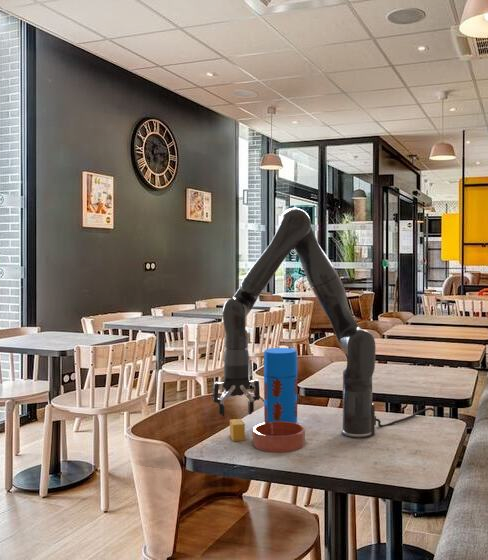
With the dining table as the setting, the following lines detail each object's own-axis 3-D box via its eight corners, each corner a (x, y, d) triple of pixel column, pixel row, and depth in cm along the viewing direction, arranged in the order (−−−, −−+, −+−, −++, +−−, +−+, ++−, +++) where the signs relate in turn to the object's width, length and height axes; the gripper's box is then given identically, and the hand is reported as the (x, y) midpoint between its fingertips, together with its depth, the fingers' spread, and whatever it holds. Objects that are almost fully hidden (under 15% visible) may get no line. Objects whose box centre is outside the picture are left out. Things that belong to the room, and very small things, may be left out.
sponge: (241, 434, 189) (240, 418, 189) (244, 440, 183) (244, 424, 183) (229, 435, 188) (229, 419, 188) (233, 441, 182) (233, 425, 182)
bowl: (296, 433, 190) (296, 419, 190) (311, 449, 175) (311, 433, 175) (248, 438, 186) (248, 423, 185) (259, 454, 171) (259, 438, 171)
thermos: (293, 431, 192) (292, 353, 190) (260, 429, 194) (260, 352, 192) (300, 422, 202) (299, 348, 201) (269, 420, 204) (268, 347, 203)
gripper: (215, 365, 179) (215, 419, 180) (261, 363, 183) (261, 416, 184) (211, 361, 186) (211, 413, 187) (256, 359, 190) (256, 409, 191)
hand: (236, 414), depth 185 cm, fingers open, 8 cm apart
